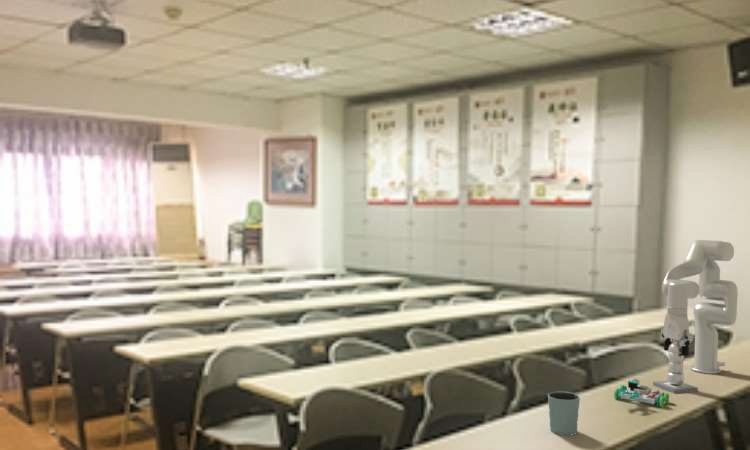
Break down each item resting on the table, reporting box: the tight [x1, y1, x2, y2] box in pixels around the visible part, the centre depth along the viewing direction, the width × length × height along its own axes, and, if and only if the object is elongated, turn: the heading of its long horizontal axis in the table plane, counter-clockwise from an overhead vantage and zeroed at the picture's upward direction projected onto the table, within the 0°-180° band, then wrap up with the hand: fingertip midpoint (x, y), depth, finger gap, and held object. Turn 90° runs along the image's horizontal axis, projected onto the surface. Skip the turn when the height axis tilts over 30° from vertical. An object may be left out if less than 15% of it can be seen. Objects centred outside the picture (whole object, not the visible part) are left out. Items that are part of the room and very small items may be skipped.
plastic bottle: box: [666, 339, 685, 385], centre depth 272 cm, size 6×7×20 cm
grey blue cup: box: [547, 390, 581, 436], centre depth 217 cm, size 10×10×12 cm
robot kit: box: [613, 377, 670, 408], centre depth 250 cm, size 19×25×9 cm
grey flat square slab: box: [652, 380, 699, 394], centre depth 272 cm, size 12×12×2 cm
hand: (676, 352), depth 272 cm, fingers open, 9 cm apart
